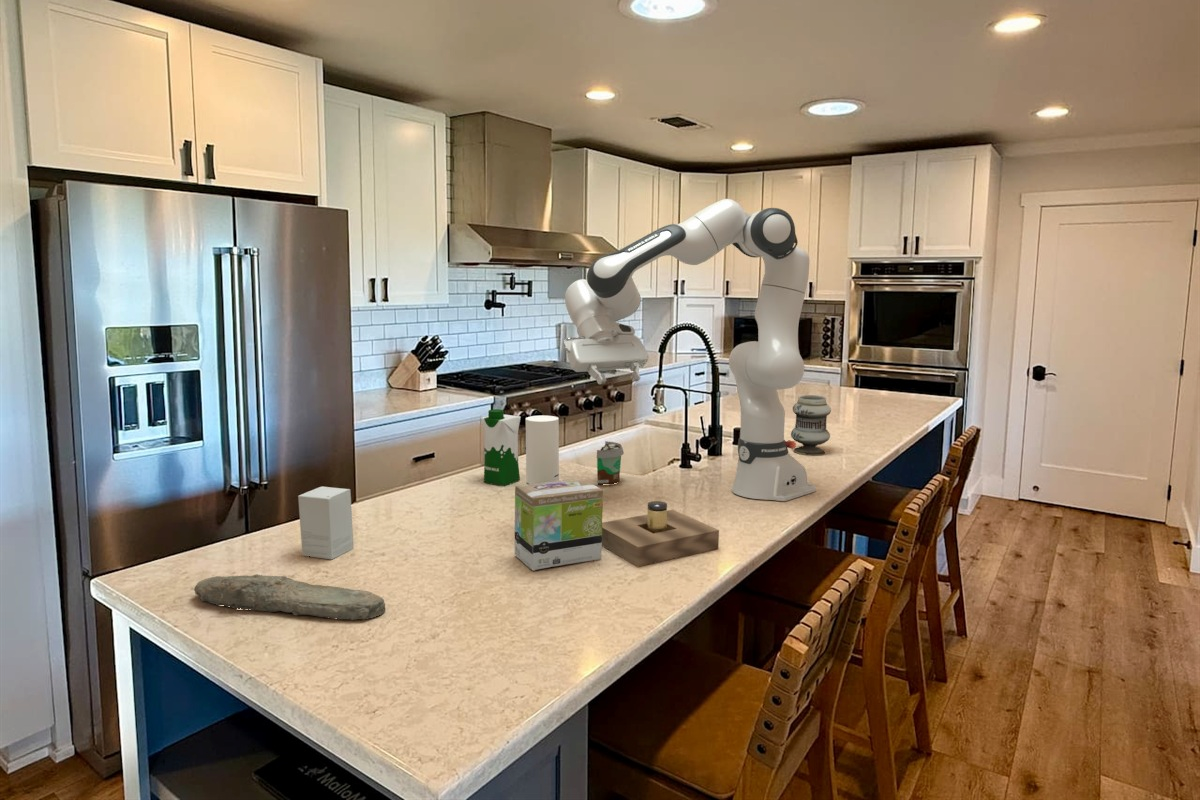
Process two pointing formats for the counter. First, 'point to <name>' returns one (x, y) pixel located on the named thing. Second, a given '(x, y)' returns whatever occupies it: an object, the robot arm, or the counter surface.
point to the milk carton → (500, 447)
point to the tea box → (558, 523)
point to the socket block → (658, 538)
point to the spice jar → (657, 516)
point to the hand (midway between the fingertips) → (620, 381)
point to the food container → (609, 463)
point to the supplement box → (326, 522)
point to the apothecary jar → (811, 424)
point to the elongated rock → (289, 597)
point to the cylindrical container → (542, 449)
